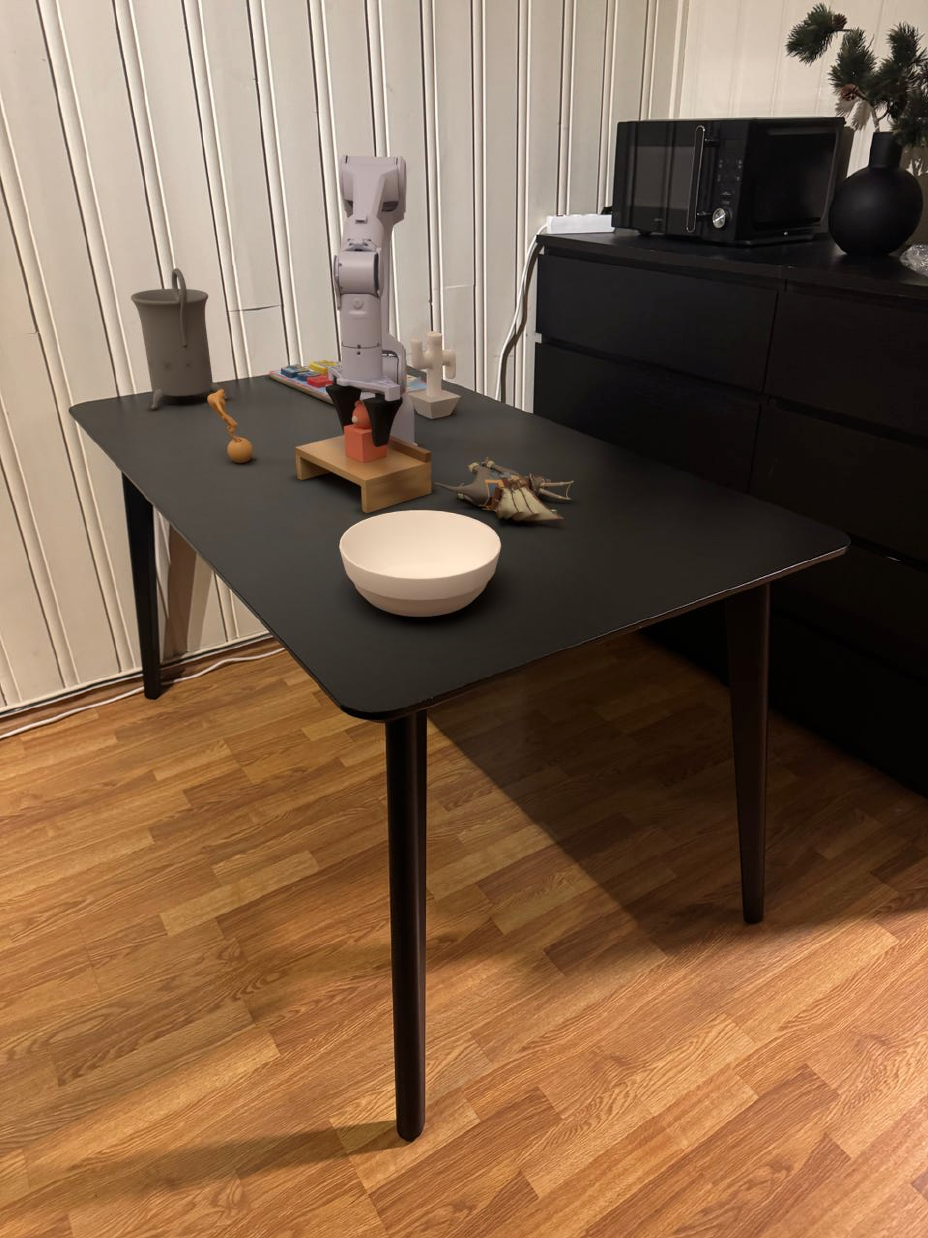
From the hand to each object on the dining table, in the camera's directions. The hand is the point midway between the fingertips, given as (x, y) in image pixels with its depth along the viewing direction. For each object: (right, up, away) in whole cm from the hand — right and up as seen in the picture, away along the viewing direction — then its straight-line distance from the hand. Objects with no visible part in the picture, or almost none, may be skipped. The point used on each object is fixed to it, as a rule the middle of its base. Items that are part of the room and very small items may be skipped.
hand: (365, 438), depth 128 cm
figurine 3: (+21, -12, -3) cm, 24 cm away
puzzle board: (-9, +22, +53) cm, 58 cm away
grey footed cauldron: (-40, +16, +42) cm, 60 cm away
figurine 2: (+9, +12, +37) cm, 40 cm away
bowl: (+9, -24, -26) cm, 37 cm away
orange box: (0, -2, +1) cm, 3 cm away
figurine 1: (-22, -2, +12) cm, 25 cm away
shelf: (-1, -6, +5) cm, 8 cm away
